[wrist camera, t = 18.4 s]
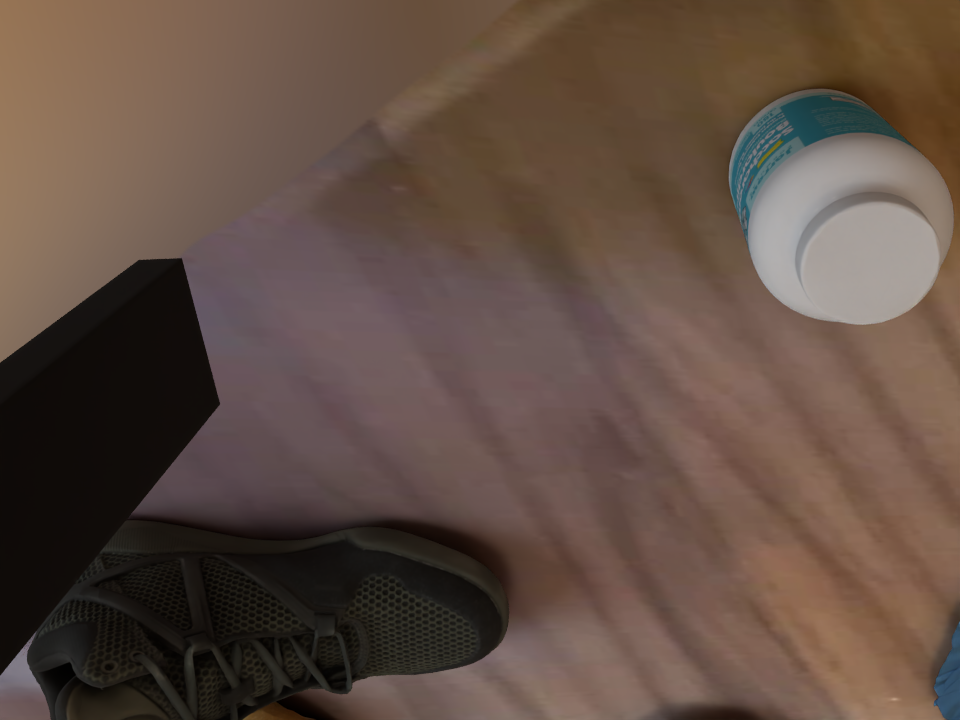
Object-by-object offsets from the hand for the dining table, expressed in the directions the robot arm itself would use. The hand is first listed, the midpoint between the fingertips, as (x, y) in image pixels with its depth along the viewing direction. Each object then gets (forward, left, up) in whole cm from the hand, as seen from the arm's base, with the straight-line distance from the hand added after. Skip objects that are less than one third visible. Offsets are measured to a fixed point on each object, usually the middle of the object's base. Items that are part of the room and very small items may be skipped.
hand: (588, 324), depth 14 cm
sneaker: (+33, -21, -32) cm, 51 cm away
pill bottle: (+6, +9, -32) cm, 34 cm away
